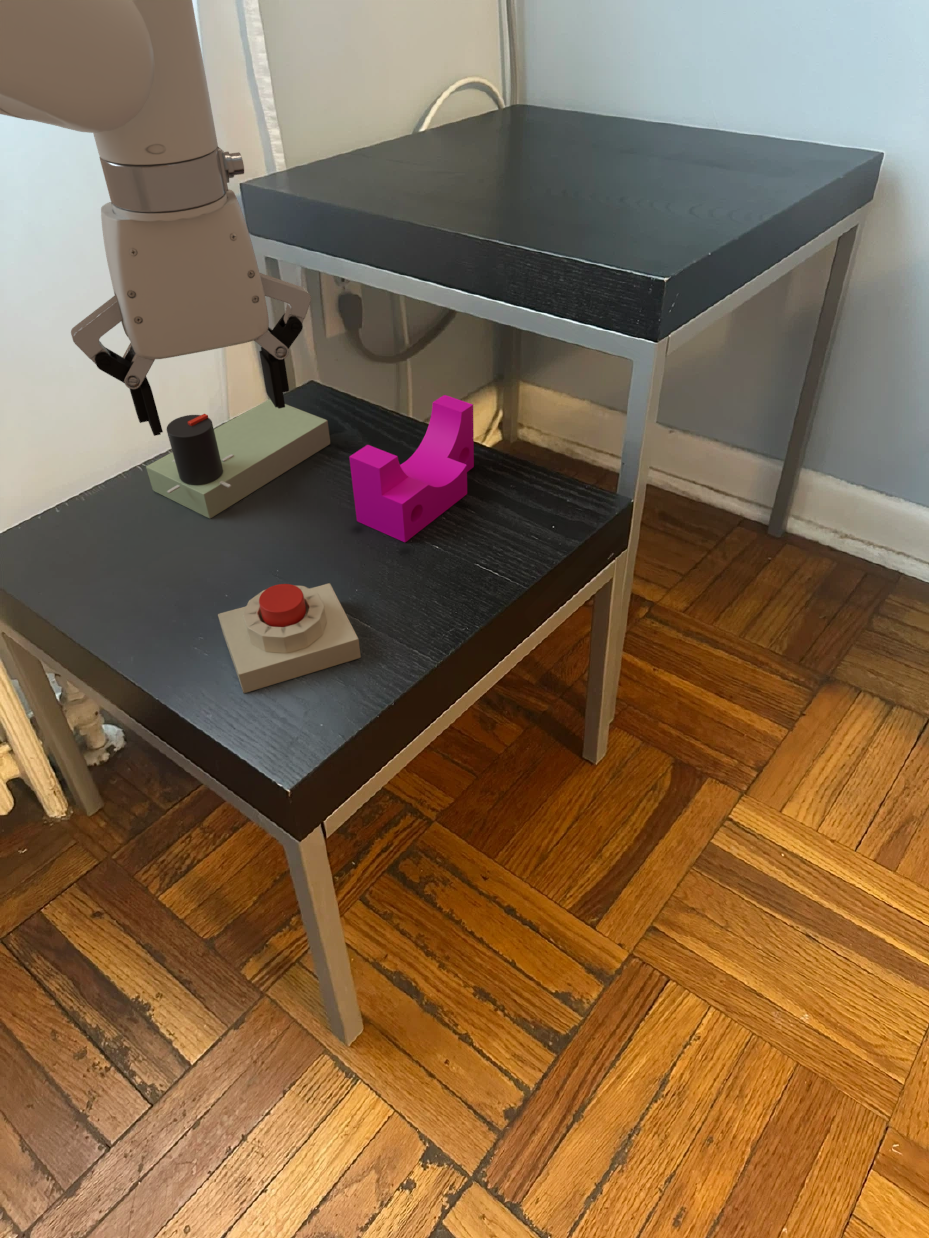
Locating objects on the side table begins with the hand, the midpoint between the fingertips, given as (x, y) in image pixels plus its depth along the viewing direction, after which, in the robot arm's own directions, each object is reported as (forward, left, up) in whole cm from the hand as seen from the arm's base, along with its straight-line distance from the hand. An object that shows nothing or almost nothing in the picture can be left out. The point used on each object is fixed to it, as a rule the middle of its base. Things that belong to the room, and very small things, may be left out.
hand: (216, 414), depth 70 cm
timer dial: (-1, +16, -15) cm, 22 cm away
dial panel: (+3, +20, -18) cm, 27 cm away
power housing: (+1, -9, -18) cm, 20 cm away
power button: (+1, -9, -14) cm, 17 cm away
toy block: (+20, +7, -18) cm, 27 cm away
